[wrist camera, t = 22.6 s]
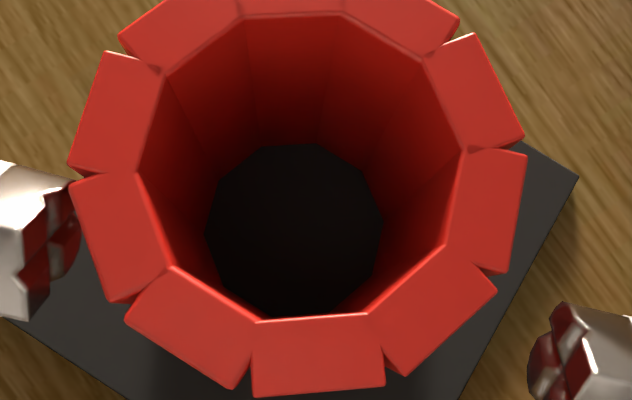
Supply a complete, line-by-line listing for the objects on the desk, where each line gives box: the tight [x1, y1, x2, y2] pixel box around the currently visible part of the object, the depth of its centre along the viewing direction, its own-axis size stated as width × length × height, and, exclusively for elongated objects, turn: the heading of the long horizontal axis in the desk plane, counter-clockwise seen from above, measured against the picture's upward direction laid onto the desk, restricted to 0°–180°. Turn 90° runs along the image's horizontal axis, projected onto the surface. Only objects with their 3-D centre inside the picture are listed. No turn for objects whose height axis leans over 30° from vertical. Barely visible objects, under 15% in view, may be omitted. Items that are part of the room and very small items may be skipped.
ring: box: [67, 0, 528, 398], centre depth 12 cm, size 6×7×7 cm
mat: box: [2, 141, 579, 400], centre depth 16 cm, size 11×11×1 cm
